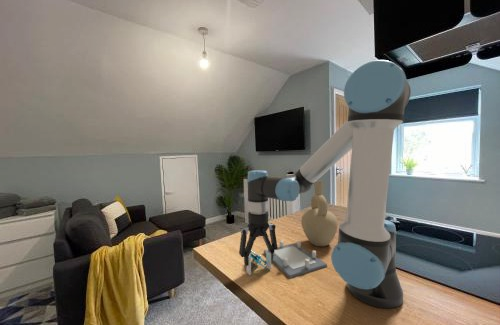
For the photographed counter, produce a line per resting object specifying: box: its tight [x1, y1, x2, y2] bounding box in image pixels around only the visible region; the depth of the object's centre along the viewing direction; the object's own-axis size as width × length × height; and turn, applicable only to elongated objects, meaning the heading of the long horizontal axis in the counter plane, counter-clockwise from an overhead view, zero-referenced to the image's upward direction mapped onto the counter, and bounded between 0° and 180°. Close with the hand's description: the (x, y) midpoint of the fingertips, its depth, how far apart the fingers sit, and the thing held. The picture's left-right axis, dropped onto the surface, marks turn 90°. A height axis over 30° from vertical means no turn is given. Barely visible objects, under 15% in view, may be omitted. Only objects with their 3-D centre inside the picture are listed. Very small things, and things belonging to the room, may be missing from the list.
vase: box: [300, 181, 339, 247], centre depth 100 cm, size 17×17×30 cm
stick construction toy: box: [249, 250, 267, 273], centre depth 82 cm, size 12×7×8 cm
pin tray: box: [263, 240, 328, 279], centre depth 87 cm, size 21×17×4 cm
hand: (259, 270), depth 79 cm, fingers closed on stick construction toy, 8 cm apart
